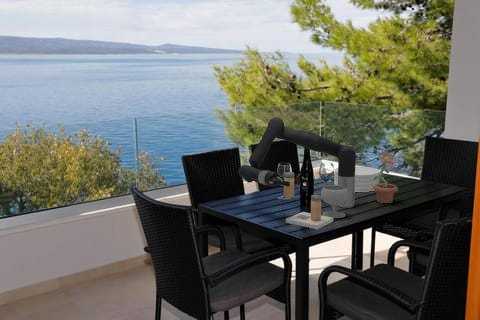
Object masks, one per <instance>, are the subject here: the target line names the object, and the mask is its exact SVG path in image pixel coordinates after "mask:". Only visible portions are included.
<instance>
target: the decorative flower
mask: <svg viewBox="0 0 480 320" xmlns="http://www.w3.org/2000/svg"><path fill="white" fill-rule="evenodd" d="M378 160H379V161H380V162H381V165H382V166H381V169H380V170H379V171H380V173H379V176H376V177H374V179H373V180H376V179H377V178H378V180H379V183H378V184H375V185H374V186H373V189H374V190H376V191H375V192H376V201H377V203H379V204H383V203H386V205H388V204H387V203H389V204H392V203H393V200H394V195H395V194H394V193H396V192H398V191H399V187H398V186H397V185H396V184H392V183H388V181H387V180H386V179H385V177H383V173H384V172H385V173H386V174H390V172H389V170H388V169H393V168H395V165H396V164H397V160H396V159H395V158H394V154H393V153H391V152H390V153H389V151H388V150H386V149H384V150H381V151H380V155H379V156H378ZM387 168H388V169H387Z"/></svg>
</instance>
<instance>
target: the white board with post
mask: <svg viewBox="0 0 480 320" xmlns="http://www.w3.org/2000/svg"><path fill="white" fill-rule="evenodd" d="M333 222H334V218H332V217H327V216H323V215H322V198H321V194H311V196H310V212H306V211H302V212H299V213H297V214H294V215H292V216H289V217H287V218H285V223H286V224H290V225H294V226H300V227H304V228H308V227H309V229H314V230H319V229H322V228H323V227H325V226H327V225H329V224H331V223H333Z"/></svg>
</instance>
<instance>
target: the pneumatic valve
mask: <svg viewBox="0 0 480 320" xmlns="http://www.w3.org/2000/svg"><path fill="white" fill-rule="evenodd" d="M300 174H301V173H300ZM300 174H299V173H298V174H297V175H296V178H295V180H297V184H296V185H298V186H301V185H300ZM315 179H316V177H314V181H315Z"/></svg>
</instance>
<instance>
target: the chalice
mask: <svg viewBox="0 0 480 320" xmlns="http://www.w3.org/2000/svg"><path fill="white" fill-rule="evenodd" d="M320 192H321V193H320V195H321V201H323V202H325V203H326V204H328V205H330V207H331V208H332V210H331V211H324V212H323V213H321V215H322V216H327V217H332V218H333V219H341V218H345V217H346V214H345V213H344V212H341V211H337V207H339V206H338V205H340V204H342V203H344V202H345V201H346V200H347V199H348V191H347V189H346V187H344V186H339V185H335V184H330V185H329V184H327V185H324V186H322V189H321V191H320Z"/></svg>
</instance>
